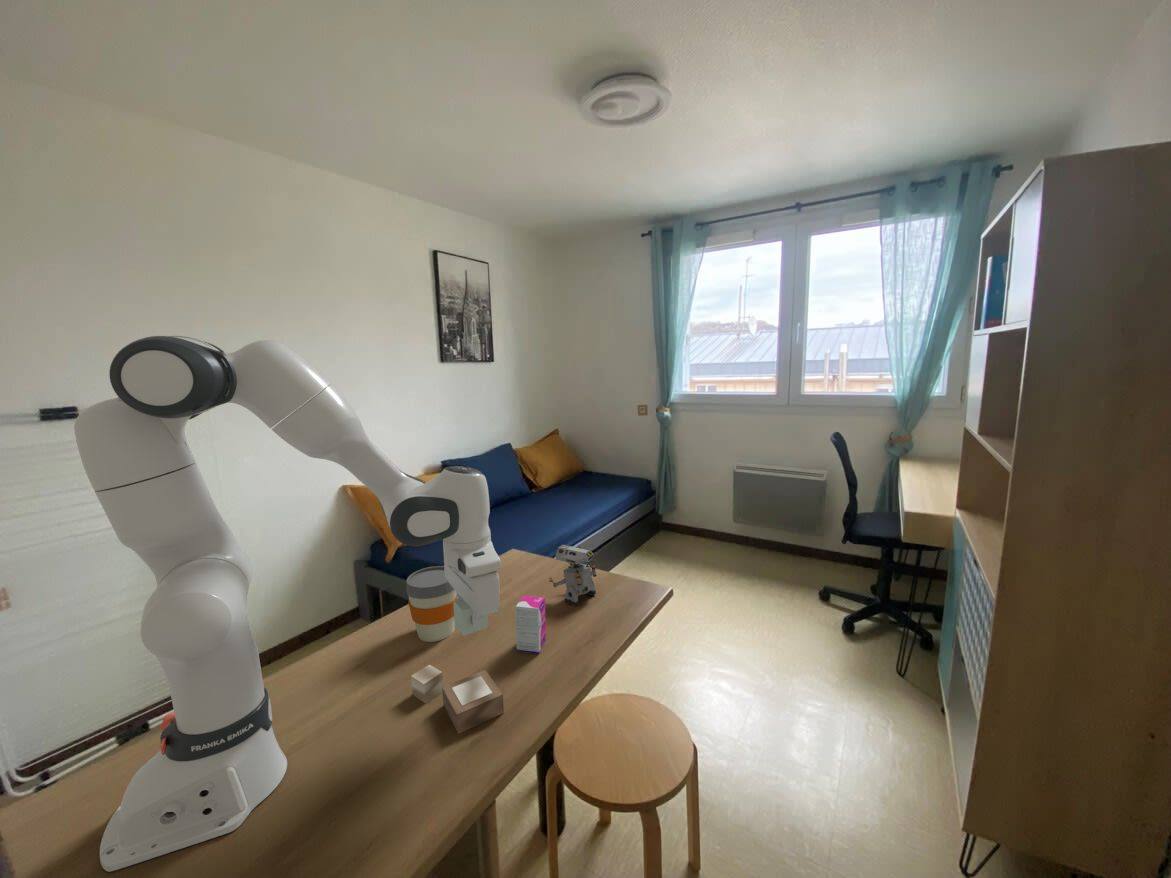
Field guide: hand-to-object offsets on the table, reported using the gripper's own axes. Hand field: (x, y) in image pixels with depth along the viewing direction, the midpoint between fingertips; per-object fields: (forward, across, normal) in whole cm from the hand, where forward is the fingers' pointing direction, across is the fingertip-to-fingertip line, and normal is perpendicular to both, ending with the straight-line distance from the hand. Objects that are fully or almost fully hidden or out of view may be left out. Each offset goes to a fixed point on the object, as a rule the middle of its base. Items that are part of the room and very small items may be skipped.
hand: (470, 617), depth 91 cm
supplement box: (+18, -10, +18) cm, 27 cm away
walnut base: (+18, +2, -1) cm, 18 cm away
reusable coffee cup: (+18, -30, +2) cm, 35 cm away
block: (+18, -8, -7) cm, 21 cm away
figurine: (+17, -24, +40) cm, 49 cm away
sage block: (+2, 0, 0) cm, 2 cm away
